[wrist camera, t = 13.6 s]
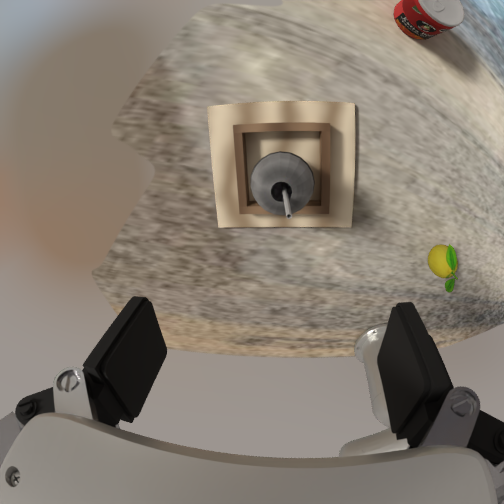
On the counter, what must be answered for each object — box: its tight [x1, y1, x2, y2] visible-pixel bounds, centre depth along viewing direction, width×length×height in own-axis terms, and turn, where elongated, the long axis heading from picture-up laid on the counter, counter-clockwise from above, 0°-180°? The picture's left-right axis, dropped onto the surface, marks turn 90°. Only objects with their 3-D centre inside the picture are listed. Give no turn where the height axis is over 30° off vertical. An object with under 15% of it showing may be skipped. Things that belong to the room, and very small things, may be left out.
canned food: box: [394, 0, 464, 39], centre depth 21 cm, size 8×8×11 cm
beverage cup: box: [250, 151, 315, 219], centre depth 32 cm, size 7×7×20 cm
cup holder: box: [207, 101, 355, 228], centre depth 40 cm, size 22×20×4 cm
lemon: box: [428, 244, 458, 292], centre depth 40 cm, size 7×6×10 cm
